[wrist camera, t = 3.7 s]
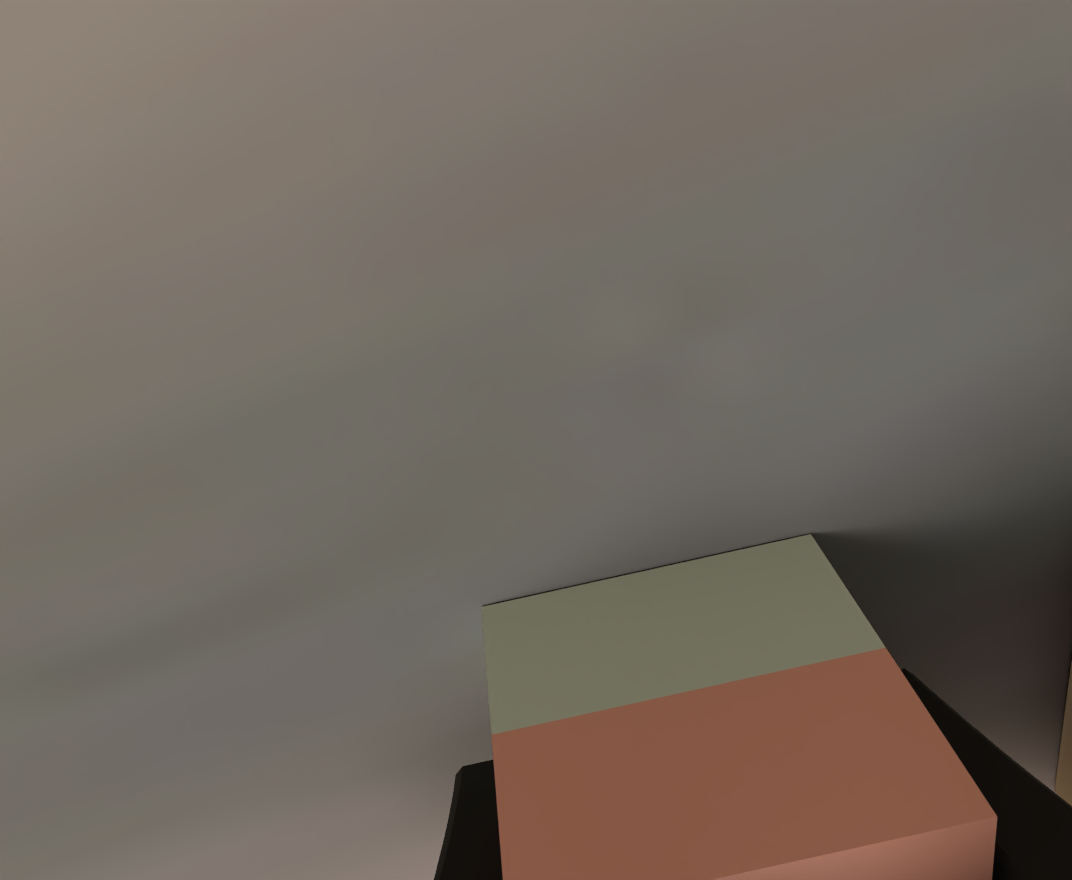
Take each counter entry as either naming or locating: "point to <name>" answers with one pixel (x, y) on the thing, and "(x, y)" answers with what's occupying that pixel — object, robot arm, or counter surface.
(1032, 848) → the robot arm
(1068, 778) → the baseplate
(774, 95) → the counter surface
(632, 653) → the brick stack
